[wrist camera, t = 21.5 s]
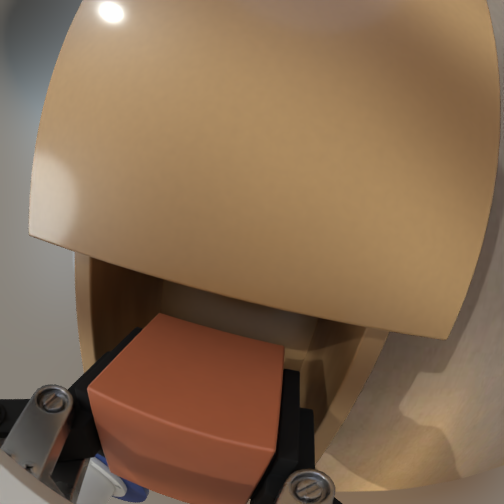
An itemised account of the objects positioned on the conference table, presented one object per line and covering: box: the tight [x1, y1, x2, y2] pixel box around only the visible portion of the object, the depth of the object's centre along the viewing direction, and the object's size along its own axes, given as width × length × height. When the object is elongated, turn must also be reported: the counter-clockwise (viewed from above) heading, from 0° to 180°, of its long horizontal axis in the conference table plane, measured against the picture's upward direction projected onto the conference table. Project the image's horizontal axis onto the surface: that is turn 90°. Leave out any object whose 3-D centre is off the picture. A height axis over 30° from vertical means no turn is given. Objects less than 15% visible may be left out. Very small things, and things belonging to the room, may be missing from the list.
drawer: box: [75, 252, 390, 465], centre depth 13 cm, size 19×11×8 cm, turn 169°
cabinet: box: [28, 0, 501, 340], centre depth 9 cm, size 15×13×10 cm
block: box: [87, 313, 285, 504], centre depth 8 cm, size 4×4×4 cm
